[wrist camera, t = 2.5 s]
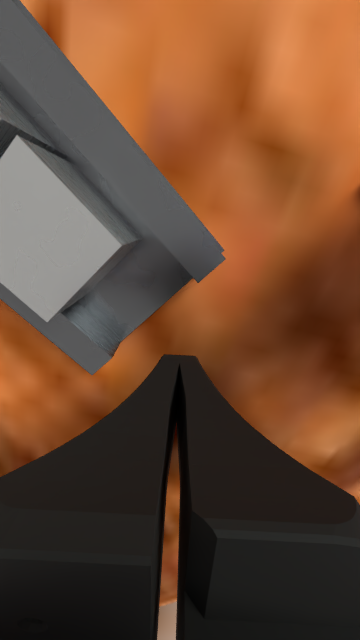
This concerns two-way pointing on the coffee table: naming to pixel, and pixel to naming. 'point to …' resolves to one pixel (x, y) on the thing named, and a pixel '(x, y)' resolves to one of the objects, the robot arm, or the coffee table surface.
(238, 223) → the coffee table surface
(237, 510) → the robot arm
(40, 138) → the chip
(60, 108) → the slot board
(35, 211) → the grey cube
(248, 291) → the coffee table surface
